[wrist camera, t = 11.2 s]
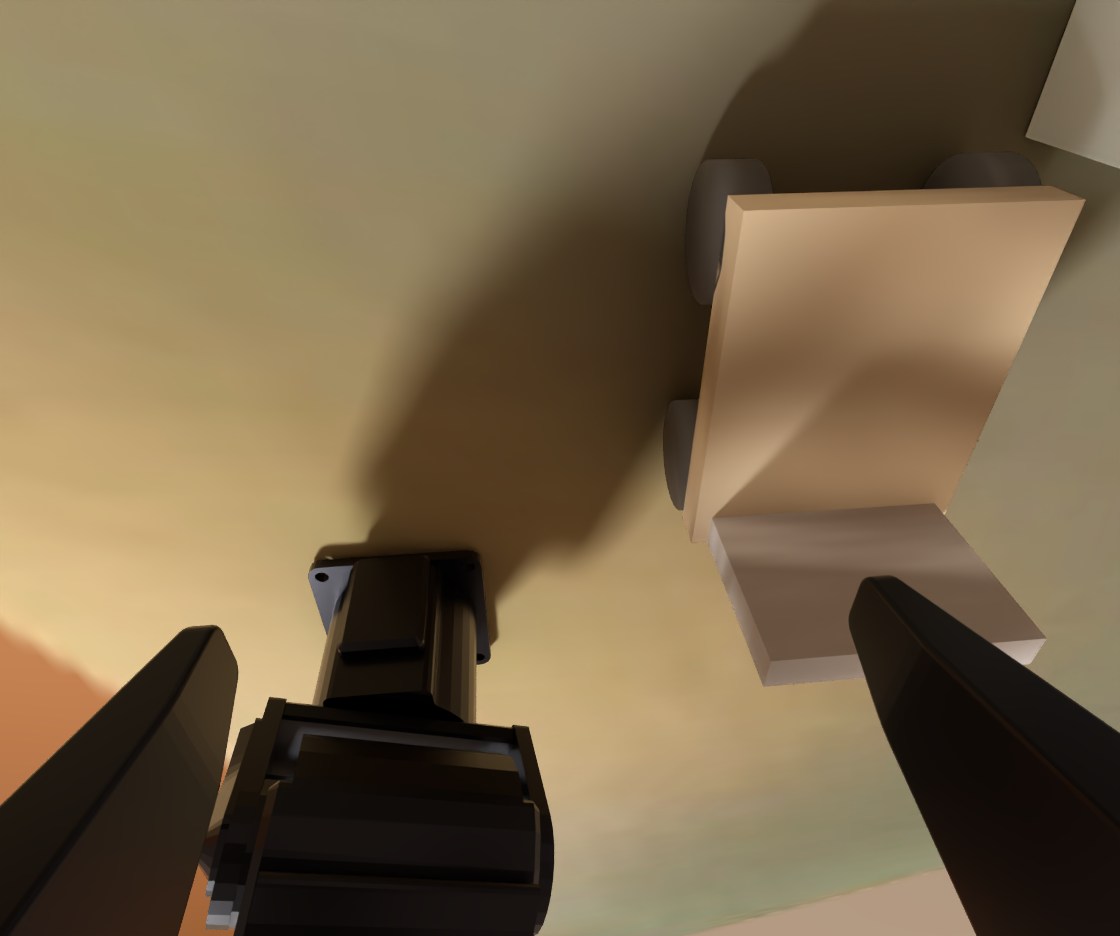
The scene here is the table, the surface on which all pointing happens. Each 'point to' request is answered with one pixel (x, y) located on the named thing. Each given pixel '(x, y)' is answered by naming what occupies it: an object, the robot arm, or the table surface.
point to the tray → (1084, 86)
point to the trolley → (853, 393)
